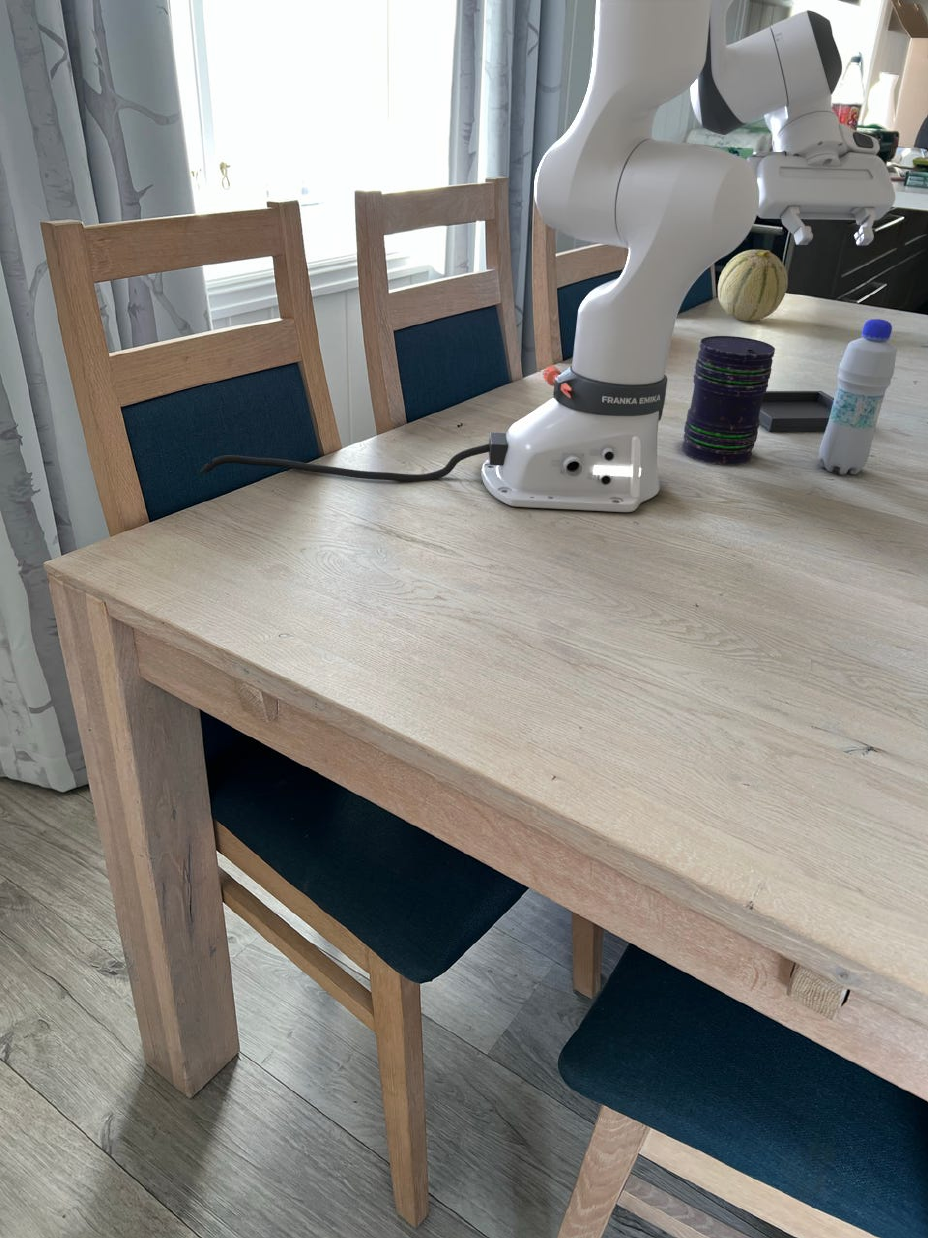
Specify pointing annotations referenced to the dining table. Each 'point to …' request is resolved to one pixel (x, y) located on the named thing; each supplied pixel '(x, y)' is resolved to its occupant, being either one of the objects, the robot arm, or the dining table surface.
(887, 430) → the dining table surface
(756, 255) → the cantaloupe
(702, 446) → the navy striped cylinder
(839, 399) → the bottle
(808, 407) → the tray
